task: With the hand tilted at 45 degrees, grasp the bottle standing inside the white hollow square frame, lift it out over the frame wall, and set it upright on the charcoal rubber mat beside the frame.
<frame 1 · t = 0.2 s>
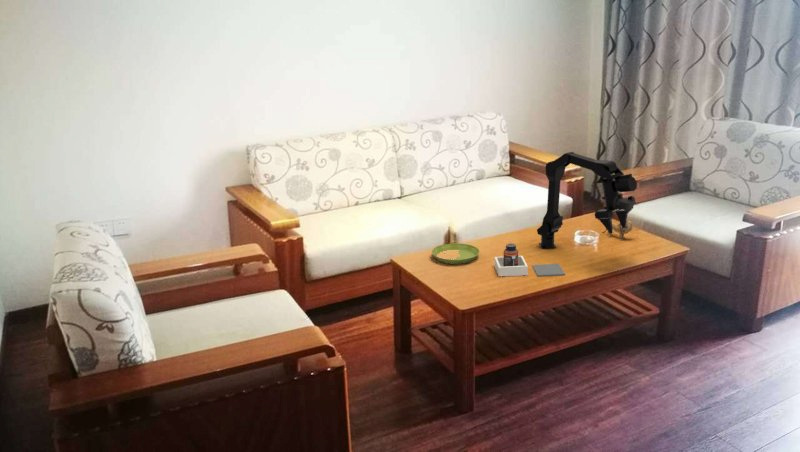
hand: (617, 230, 268), 15 cm above the table, tool pointing down, fingers open, 9 cm apart
supplement bottle: (510, 271, 273), resting in white hollow square frame
white hollow square frame: (510, 270, 273), on the table
rubber mat: (548, 270, 271), on the table
lion figurine: (617, 237, 305), on the table
saucer: (455, 258, 290), on the table
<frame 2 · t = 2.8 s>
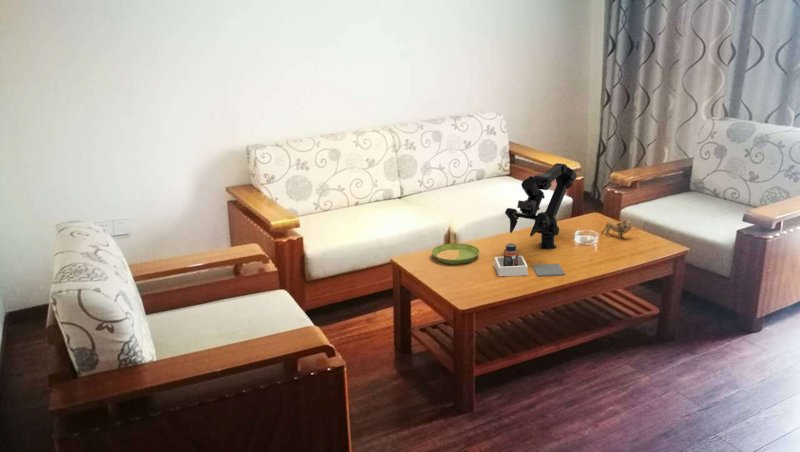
hand: (520, 234, 275), 13 cm above the table, tool tilted 45°, fingers open, 9 cm apart
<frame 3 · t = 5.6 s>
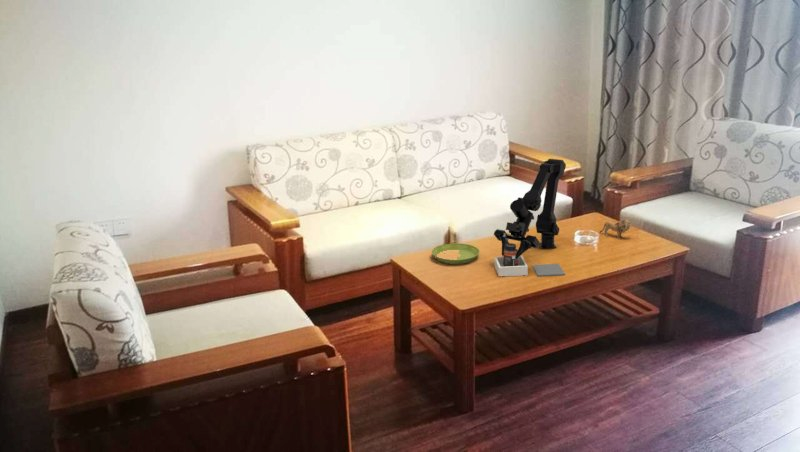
hand: (509, 256, 270), 7 cm above the table, tool tilted 45°, fingers closed on supplement bottle, 6 cm apart
supplement bottle: (510, 271, 273), resting in white hollow square frame, touching gripper
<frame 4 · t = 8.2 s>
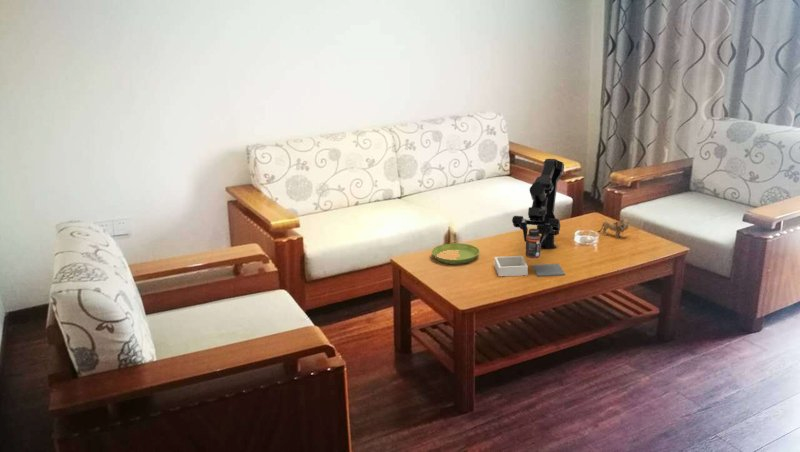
hand: (532, 242, 266), 13 cm above the table, tool tilted 45°, fingers closed on supplement bottle, 6 cm apart
supplement bottle: (532, 256, 270), point 6 cm above the table, touching gripper
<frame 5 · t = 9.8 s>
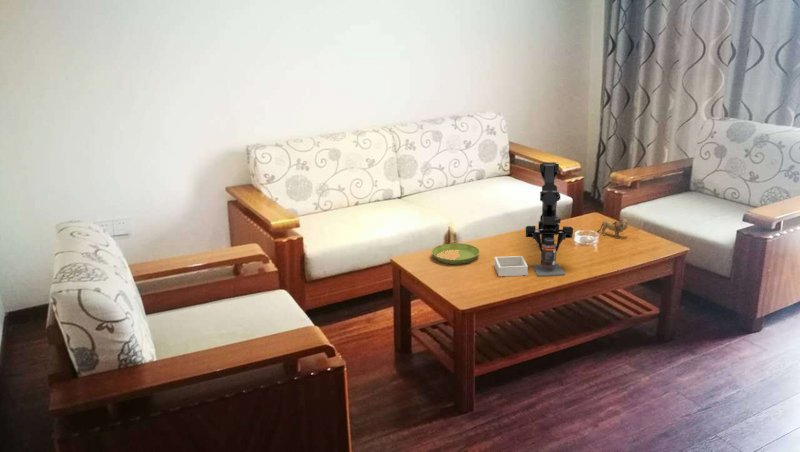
hand: (548, 251, 267), 9 cm above the table, tool tilted 45°, fingers closed on supplement bottle, 6 cm apart
supplement bottle: (547, 265, 271), point 2 cm above the table, touching gripper
when the fingers open (8 cm above the table, at t = 10.8 s): supplement bottle stays where it is, resting on rubber mat.
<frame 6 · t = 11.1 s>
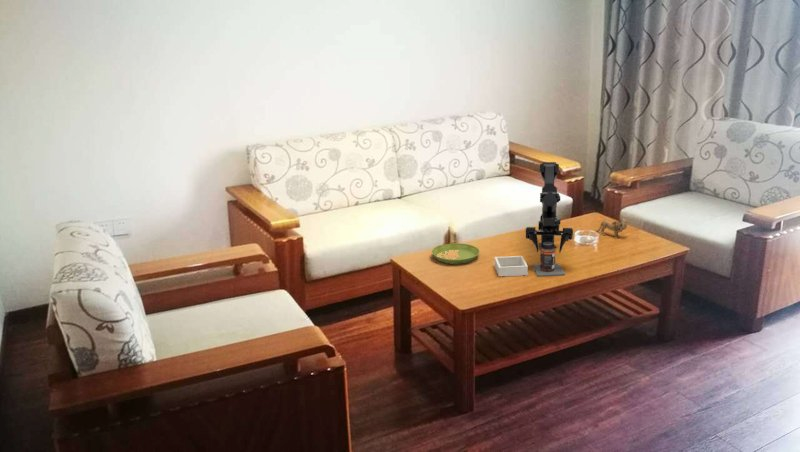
hand: (548, 252, 267), 9 cm above the table, tool tilted 45°, fingers open, 8 cm apart
supplement bottle: (547, 269, 271), resting on rubber mat
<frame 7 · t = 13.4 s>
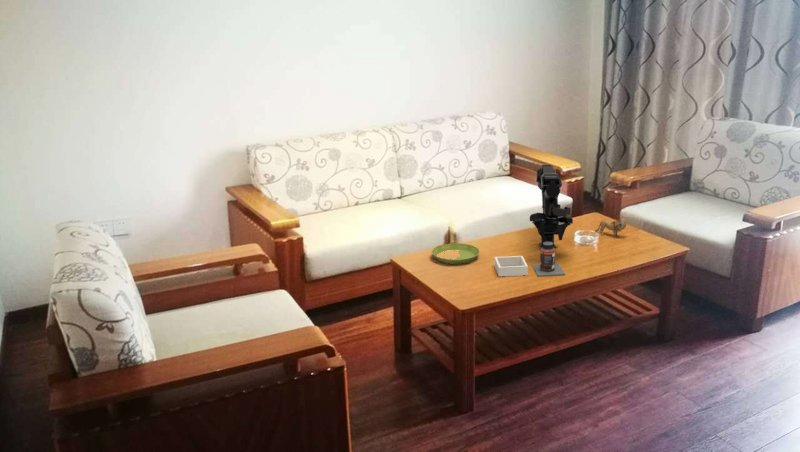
hand: (551, 239, 278), 10 cm above the table, tool tilted 30°, fingers open, 9 cm apart
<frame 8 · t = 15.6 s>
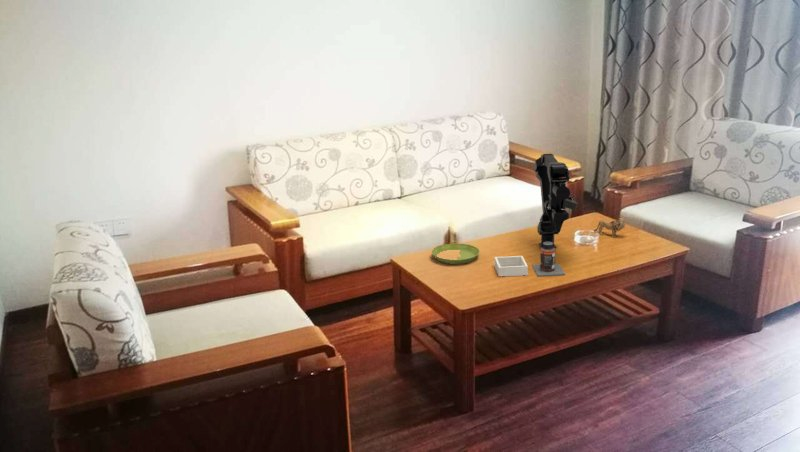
hand: (555, 228, 280), 13 cm above the table, tool pointing down, fingers open, 9 cm apart
at the end: supplement bottle inside the target area on the rubber mat (0.4 cm from its centre), point 0.4 cm above the rubber mat's base; supplement bottle tilted 0°; the gripper is holding nothing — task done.
